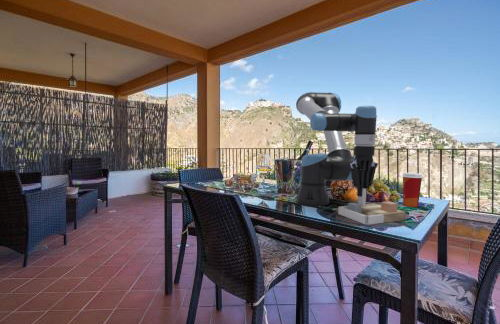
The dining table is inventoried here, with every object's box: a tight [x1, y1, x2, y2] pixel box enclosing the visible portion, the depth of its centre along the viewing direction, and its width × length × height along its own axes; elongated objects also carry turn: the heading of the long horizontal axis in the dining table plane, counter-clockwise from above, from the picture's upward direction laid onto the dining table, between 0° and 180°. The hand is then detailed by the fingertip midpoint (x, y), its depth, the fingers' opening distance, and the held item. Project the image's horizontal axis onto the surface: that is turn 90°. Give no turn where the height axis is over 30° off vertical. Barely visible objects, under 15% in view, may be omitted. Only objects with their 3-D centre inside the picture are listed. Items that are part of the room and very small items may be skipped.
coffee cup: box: [401, 172, 423, 208], centre depth 124 cm, size 8×8×15 cm
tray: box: [337, 205, 384, 226], centre depth 103 cm, size 15×8×3 cm, turn 21°
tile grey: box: [347, 202, 362, 214], centre depth 107 cm, size 4×4×3 cm
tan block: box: [380, 200, 399, 212], centre depth 104 cm, size 4×4×3 cm
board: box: [361, 202, 407, 224], centre depth 107 cm, size 15×11×3 cm
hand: (361, 204), depth 108 cm, fingers closed
